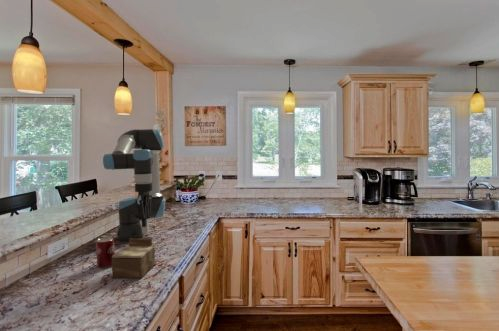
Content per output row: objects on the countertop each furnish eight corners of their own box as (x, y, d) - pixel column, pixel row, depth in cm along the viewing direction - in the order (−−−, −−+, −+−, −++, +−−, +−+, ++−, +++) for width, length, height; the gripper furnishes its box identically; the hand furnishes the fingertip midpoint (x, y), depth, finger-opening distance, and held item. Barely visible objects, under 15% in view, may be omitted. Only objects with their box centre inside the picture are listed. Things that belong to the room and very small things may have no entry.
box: (129, 265, 132) (128, 247, 131) (155, 265, 131) (154, 247, 130) (112, 278, 118) (111, 259, 117) (141, 278, 117) (140, 259, 116)
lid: (128, 246, 132) (128, 238, 131) (154, 246, 131) (154, 238, 131) (112, 257, 118) (111, 248, 117) (141, 258, 117) (140, 248, 117)
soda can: (95, 270, 127) (94, 242, 126) (99, 263, 134) (98, 238, 133) (113, 267, 129) (112, 241, 128) (116, 261, 136) (115, 236, 135)
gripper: (141, 181, 141) (143, 228, 143) (128, 184, 128) (131, 237, 130) (156, 181, 141) (158, 228, 142) (145, 184, 128) (147, 237, 129)
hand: (145, 232), depth 136 cm, fingers closed
